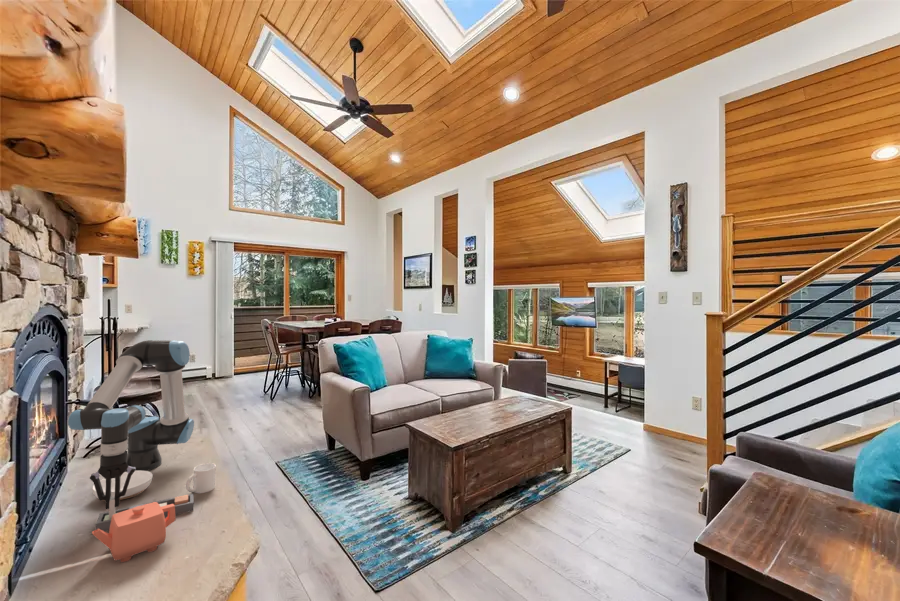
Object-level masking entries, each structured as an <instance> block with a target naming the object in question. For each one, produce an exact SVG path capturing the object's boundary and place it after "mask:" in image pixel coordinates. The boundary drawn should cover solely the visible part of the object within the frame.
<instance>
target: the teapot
mask: <svg viewBox="0 0 900 601" xmlns="http://www.w3.org/2000/svg"><path fill="white" fill-rule="evenodd" d="M152 502H153V503H151V502H148V503H149V504H146V503H144V504H145V505H142V506H137V507H135V508H132V509H128V510H125V511H122V512H119V513H116V514H114V515H112V519H111V524H110V529H109V530H108V532H107V531H102V530H100V529H97V530H95V529H94V530H93V531H91V534H92V535H93V536H94V537H95V538H96V539H97V540H99V541H100V542H101V543H102V544H104V546H105V547H107V548H108V549H109V551H110V553H111V556H112V558H113V560H114V561H119V560H120V562H121V563H125V562H128V561H131V559H132V557H133V556H134V555H138V554H139V553H143V552H145V551H146V552H148V553H152V552H154V551H157V550H158V546H160V545H162V544H164V543H165V540H166V538H167V527H169V526H170V525H171V524H173V523H174V522H175V521H176V520H177V519H176V515H175V505H174V504H170V505H165V506H161V507H160V505H159V504H158V503H157V502H156V501H152ZM166 511H168V517H164V512H166Z"/></svg>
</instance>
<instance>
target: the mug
mask: <svg viewBox="0 0 900 601" xmlns="http://www.w3.org/2000/svg"><path fill="white" fill-rule="evenodd" d="M216 470H217V465H216V464H215V463H212V462H207V463H201V464H198V465H196V466H195V467H193V472H192V474H191V475H190V476H188V478H187V480H186V482H185V489H186V491H187V492H189V493H192V492H193V494H205V493H208V492H211V491H213V490H214V489H215V487H216ZM191 481H192V488H191V486H190V485H191Z"/></svg>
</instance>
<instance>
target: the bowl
mask: <svg viewBox="0 0 900 601" xmlns="http://www.w3.org/2000/svg"><path fill="white" fill-rule="evenodd" d="M127 475H128V473H127V472H124V473H123V474H122V475H121V477H120V492H122V490H123V487H124V484H125V481H126V478H127ZM153 476H154V475H153V473H152V471H150V470H148V471H141V470H140V471H135V472H134V473H133V474H132V475H131V478H130V481H129V485H128V488H127V491H126V494H125V495H124V496H121V497H120V501H124V500H127V499H130V498H134V497H136V496H138V495H139V494H141V493H143V492H144V491H146V489H147V488H148V487H149V486H150V485H151V483H152V480H153ZM100 483H101V486H102V489H103V492H104V495H106V479H105V478H104V477H103V478H102V479H100ZM92 493H93V495H94V496H95V497H94V498H96V499H98V500H99V498H98V495H97V492H96V489H95V486H94V485H93V486H92ZM111 497H115V478H112V479H111ZM102 501H103V502H105V500H102Z"/></svg>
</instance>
